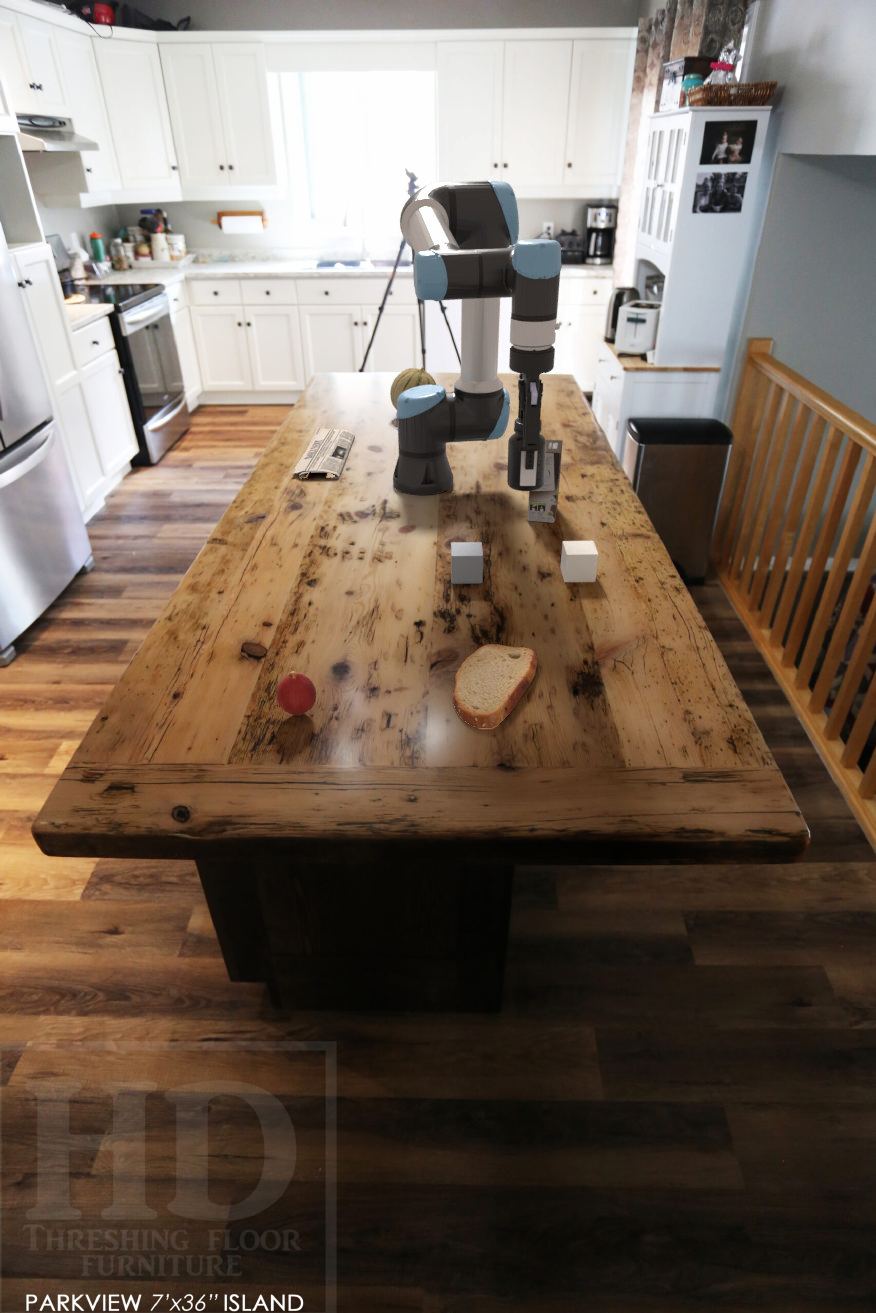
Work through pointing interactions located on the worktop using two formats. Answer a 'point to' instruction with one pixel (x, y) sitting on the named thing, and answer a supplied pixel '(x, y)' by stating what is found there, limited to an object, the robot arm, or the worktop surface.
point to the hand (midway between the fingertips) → (525, 477)
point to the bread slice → (492, 683)
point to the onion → (296, 694)
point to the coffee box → (547, 486)
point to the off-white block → (579, 561)
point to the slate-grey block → (466, 562)
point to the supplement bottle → (515, 459)
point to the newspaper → (326, 452)
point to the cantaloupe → (409, 382)
